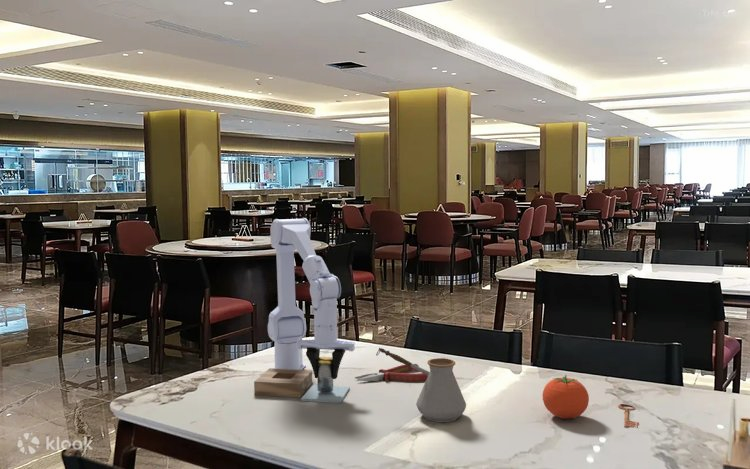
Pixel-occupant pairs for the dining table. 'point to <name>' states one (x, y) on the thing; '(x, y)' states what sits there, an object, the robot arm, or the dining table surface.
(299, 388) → the block
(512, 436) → the dining table surface
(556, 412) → the tomato
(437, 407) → the coffee pot
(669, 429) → the dining table surface
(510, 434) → the dining table surface
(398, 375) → the pliers
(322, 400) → the rubber mat
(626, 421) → the key
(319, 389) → the steel key peg
